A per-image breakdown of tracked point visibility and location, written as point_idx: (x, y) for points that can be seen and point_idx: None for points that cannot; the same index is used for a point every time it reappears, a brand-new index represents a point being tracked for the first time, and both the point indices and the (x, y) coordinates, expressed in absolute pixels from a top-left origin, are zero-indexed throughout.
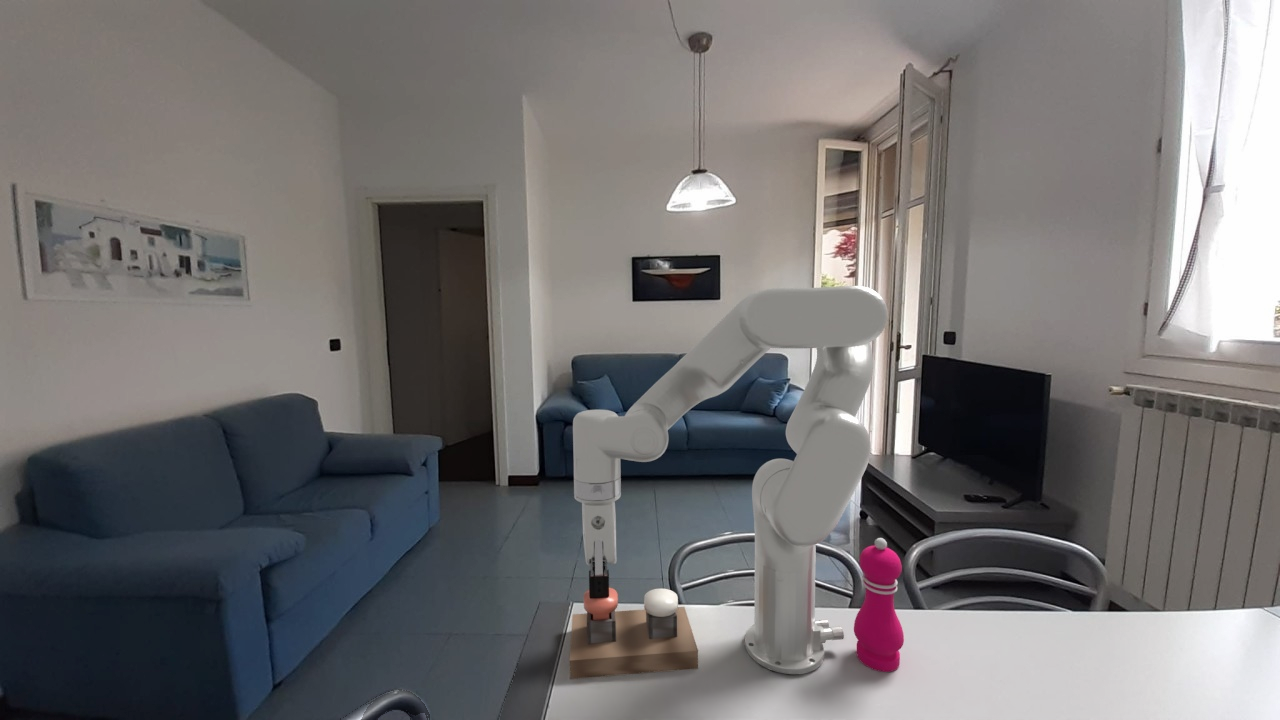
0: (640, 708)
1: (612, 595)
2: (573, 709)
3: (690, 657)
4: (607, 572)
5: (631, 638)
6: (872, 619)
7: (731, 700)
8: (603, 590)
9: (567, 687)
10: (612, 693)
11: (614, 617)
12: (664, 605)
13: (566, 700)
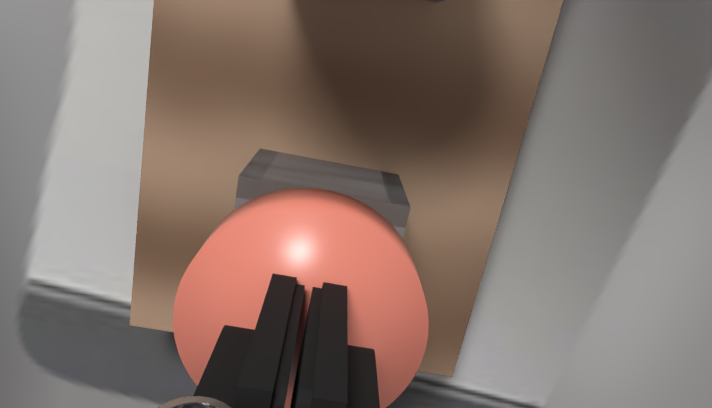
0: (677, 132)
1: (327, 252)
2: (577, 340)
3: None
4: (269, 389)
5: (400, 94)
6: None
7: None
8: (375, 368)
9: (474, 345)
10: (565, 210)
11: (374, 205)
12: None
13: (530, 354)
